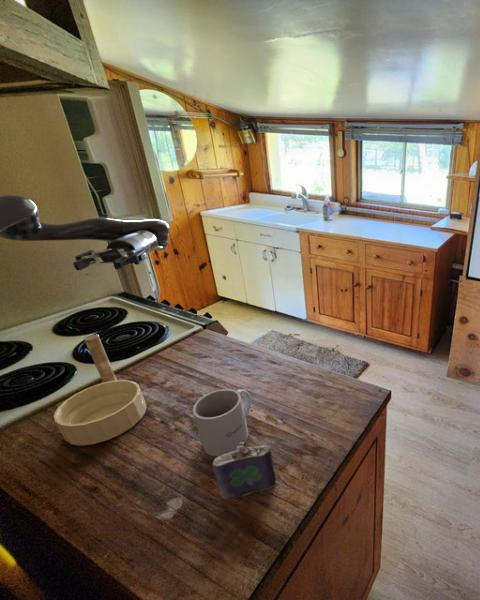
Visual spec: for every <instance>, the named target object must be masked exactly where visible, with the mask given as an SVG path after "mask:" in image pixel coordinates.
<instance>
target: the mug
mask: <svg viewBox="0 0 480 600" xmlns="http://www.w3.org/2000/svg"><path fill="white" fill-rule="evenodd" d="M242 395H243V397H244V406H243V400H242ZM194 403H195V404H194V405H193V407H192V414H193V417H194V421H195V423H196V427H197V431H198V433H199V437H200V440H201V444H202V447H203V450H204V452H205V453H206V454H208V455H209V456H212V457H219V456H221V455H224V454H227V453H230V452H232V451H236V449H237V447H238V446H241V445H244V444H246V442H247V439H248V438H249V428H248V424H247V419H246V418H247V416H248V414H249V413H250V411H251V406H252V399H251V395H250V393H249V391H247V390H246V389H240V388H239V389H238V390H236V389H232V388H222V389H217V390H214V391H211V392H208V393H206V394H205V395H203V396H202V397H200V398H199V399H198V400H196V402H194ZM241 442H244V444H241V445H240V444H239V443H241ZM237 444H238V445H237Z"/></svg>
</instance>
